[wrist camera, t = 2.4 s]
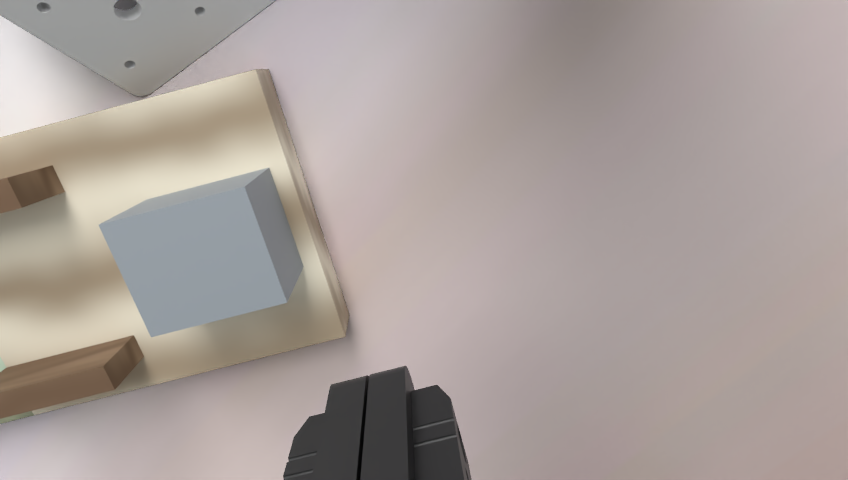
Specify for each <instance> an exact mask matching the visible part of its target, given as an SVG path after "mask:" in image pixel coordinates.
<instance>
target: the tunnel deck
mask: <svg viewBox="0 0 848 480" xmlns="http://www.w3.org/2000/svg"><path fill="white" fill-rule="evenodd" d="M265 168H270V171H271V174H272V177H273V180H274V182H275V185H276V188H277V191H278V194H279V197H280V200H281V203H282V205H283V208H284V211H285V214H286V217H287V220H288V223H289V226H290V228H291V231H292V234H293V237H294V240H295V243H296V246H297V249H298V251H299V254H300V257H301V260H302V263H303V266H304V267H303V270H302V272H301V274H300V276H299V278H298V280H297V282H296V285H295V287H294V289H293V291H292V293H291V295H290V298H289V300H288V302H287V303H284V304H280V305H276V306H272V307H269V308H265V309H261V310H257V311H253V312H249V313H245V314H241V315H237V316H233V317H229V318H225V319H221V320H218V321H214V322H210V323H206V324H202V325H198V326H194V327H190V328H186V329H182V330H178V331H174V332H170V333H166V334H163V335H159V336H155V337H151V336H150V334H149V332H148V330H147V328H146V326H145V323H144V321H143V319H142V317H141V315H140V313H139V311H138V309H137V306H136V304H135V302H134V300H133V298H132V296H131V294H130V291H129V289H128V287H127V285H126V283H125V281H124V279H123V276H122V274H121V272H120V270H119V268H118V266H117V264H116V262H115V259H114V257H113V255H112V253H111V251H110V249H109V247H108V244H107V242H106V240H105V238H104V236H103V234H102V232H101V230H100V227H99V224H101V223H103V222H105V221H107V220H109V219H110V218H112V217H114V216H116V215H118V214H120V213H122V212H124V211H126V210H128V209H130V208H131V207H133V206H135V205H137V204H139V203H141V202H143V201H145V200H147V199H151V198H154V197H158V196H162V195H166V194H170V193H173V192H177V191H181V190H185V189H189V188H193V187H196V186H200V185H204V184H208V183H212V182H215V181H219V180H223V179H227V178H231V177H235V176H238V175H242V174H246V173H250V172H254V171H257V170H261V169H265ZM348 320H349V312H348V309H347V306H346V303H345V300H344V297H343V294H342V291H341V288H340V285H339V282H338V279H337V276H336V273H335V270H334V267H333V264H332V261H331V258H330V255H329V252H328V249H327V245H326V242H325V239H324V236H323V233H322V230H321V227H320V224H319V221H318V218H317V215H316V212H315V209H314V206H313V203H312V200H311V197H310V194H309V191H308V188H307V185H306V182H305V179H304V175H303V172H302V169H301V166H300V163H299V160H298V157H297V154H296V151H295V148H294V145H293V142H292V139H291V136H290V133H289V130H288V127H287V124H286V121H285V118H284V115H283V112H282V109H281V105H280V102H279V99H278V96H277V93H276V90H275V87H274V84H273V81H272V78H271V75H270V72H269V69H255V70H251V71H247V72H244V73H240V74H236V75H232V76H229V77H225V78H221V79H218V80H214V81H210V82H206V83H203V84H199V85H195V86H191V87H188V88H184V89H180V90H176V91H173V92H169V93H165V94H161V95H158V96H154V97H150V98H146V99H143V100H139V101H135V102H131V103H128V104H124V105H120V106H116V107H113V108H109V109H105V110H102V111H98V112H94V113H90V114H87V115H83V116H79V117H75V118H72V119H68V120H64V121H60V122H57V123H53V124H49V125H45V126H42V127H38V128H34V129H30V130H27V131H23V132H19V133H15V134H12V135H8V136H4V137H1V138H0V424H1V423H5V422H9V421H13V420H17V419H21V418H25V417H29V416H33V415H37V414H41V413H45V412H49V411H53V410H57V409H61V408H65V407H69V406H73V405H77V404H81V403H85V402H89V401H93V400H97V399H100V398H104V397H108V396H112V395H116V394H120V393H124V392H128V391H132V390H136V389H140V388H144V387H148V386H152V385H156V384H160V383H164V382H168V381H172V380H176V379H180V378H184V377H188V376H192V375H196V374H200V373H204V372H208V371H211V370H215V369H219V368H223V367H227V366H231V365H235V364H239V363H243V362H247V361H251V360H255V359H259V358H263V357H267V356H271V355H275V354H279V353H283V352H287V351H291V350H295V349H299V348H303V347H307V346H311V345H315V344H319V343H322V342H326V341H330V340H334V339H338V338H342V337H345V336H346V330H347V325H348Z"/></svg>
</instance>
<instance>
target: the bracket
mask: <svg viewBox="0 0 848 480" xmlns="http://www.w3.org/2000/svg"><path fill="white" fill-rule="evenodd" d="M117 1H119V0H0V15H1V16H2V17H4V18H6V19H7V20H9V21H11V22H12V23H14V24H16V25H17V26H19V27H21V28H22V29H24V30H26V31H27V32H29V33H31V34H32V35H34V36H36V37H37V38H39V39H41V40H42V41H44V42H46V43H47V44H49V45H51V46H52V47H54V48H56V49H57V50H59V51H61V52H62V53H64V54H66V55H67V56H69V57H71V58H72V59H74V60H76V61H77V62H79V63H81V64H82V65H84V66H86V67H87V68H89V69H91V70H92V71H94V72H96V73H97V74H99V75H101V76H102V77H104V78H106V79H107V80H109V81H111V82H112V83H114V84H116V85H117V86H119V87H121V88H122V89H124V90H126V91H127V92H129V93H131V94H133V95H135V96H146V95H149V94H151V93H152V92H154V91H155V90H156V89H158V88H159V87H160V86H162V85H163V84H164V83H166V82H167V81H168V80H170V79H171V78H172V77H174V76H175V75H176V74H178V73H179V72H180V71H182V70H183V69H184V68H186V67H187V66H188V65H190V64H191V63H193V62H194V61H195V60H197V59H198V58H199V57H201V56H202V55H203V54H205V53H206V52H207V51H209V50H210V49H211V48H213V47H214V46H215V45H217V44H218V43H219V42H221V41H222V40H223V39H225V38H226V37H227V36H229V35H230V34H231V33H233V32H234V31H235V30H237V29H238V28H239V27H241V26H242V25H243V24H245V23H246V22H247V21H249V20H250V19H251V18H253V17H254V16H255V15H257V14H258V13H259V12H261V11H262V10H263V9H265V8H266V7H267V6H269V5H270V4H271V3H273V2H274V1H275V0H135V1H137V4H136V5H135V6H134V7H133V8H131V9H129V10H120V9H117V8H115V7H114V5H115V3H116V2H117Z"/></svg>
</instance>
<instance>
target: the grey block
mask: <svg viewBox="0 0 848 480" xmlns="http://www.w3.org/2000/svg"><path fill="white" fill-rule="evenodd" d="M99 227H100V230H101V232H102V234H103V236H104V238H105V240H106V242H107V244H108V247H109V249H110V251H111V253H112V255H113V257H114V259H115V262H116V264H117V266H118V268H119V270H120V272H121V274H122V276H123V279H124V281H125V283H126V285H127V287H128V289H129V291H130V294H131V296H132V298H133V300H134V302H135V304H136V306H137V309H138V311H139V313H140V315H141V317H142V319H143V321H144V323H145V326H146V328H147V330H148V332H149V334H150V336H151V337H155V336H159V335H163V334H166V333H170V332H174V331H178V330H182V329H186V328H190V327H194V326H198V325H202V324H206V323H210V322H214V321H218V320H221V319H225V318H229V317H233V316H237V315H241V314H245V313H249V312H253V311H257V310H261V309H265V308H269V307H272V306H276V305H280V304H284V303H287V302H288V300H289V298H290V295H291V293H292V291H293V289H294V287H295V285H296V282H297V280H298V278H299V276H300V274H301V272H302V270H303V267H304V266H303V263H302V260H301V257H300V254H299V251H298V249H297V246H296V243H295V240H294V237H293V234H292V231H291V228H290V226H289V223H288V220H287V217H286V214H285V211H284V208H283V205H282V203H281V200H280V197H279V194H278V191H277V188H276V185H275V182H274V180H273V177H272V174H271V171H270V168H265V169H261V170H257V171H254V172H250V173H246V174H242V175H238V176H235V177H231V178H227V179H223V180H219V181H215V182H212V183H208V184H204V185H200V186H196V187H193V188H189V189H185V190H181V191H177V192H173V193H170V194H166V195H162V196H158V197H154V198H151V199H147V200H145V201H143V202H141V203H139V204H137V205H135V206H133V207H131V208H130V209H128V210H126V211H124V212H122V213H120V214H118V215H116V216H114V217H112V218H110V219H109V220H107V221H105V222H103V223H101V224H99Z"/></svg>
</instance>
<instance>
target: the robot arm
mask: <svg viewBox="0 0 848 480" xmlns="http://www.w3.org/2000/svg"><path fill="white" fill-rule="evenodd" d="M288 459H289V462H287V465H286V468H285V472H284V475H283V477H284V480H471V475H470V470H469V465H468V460H467V457H466V453H465V449H464V446H463V442H462V439H461V435H460V431H459V428H458V424H457V420H456V417H455V413H454V410H453V406H452V402H451V399H450V397H449V396H448V395H447V394H446V393H445V392H444V391H443V390H442V389H441V388H440V387H439V386H438V385H434V386H430V387H426V388H422V389H418V390H414V386H413V383H412V380H411V376H410V373H409V371H408V368H407V367H406V366H403V367H399V368H395V369H391V370H387V371H383V372H379V373H375V374H371V375H370V376H364V377H360V378H356V379H352V380H348V381H344V382H340V383H336V384H332V385H331V386H330V390H329V395H328V400H327V405H326V410H325V413H322V414H318V415H314V416H310V417H309V418H308V419H307V421H306V422H305V423H304V425H303V426H302V427H301V429H300V430H299V431H298V433H297V434H296V435H295V437H294V439H293V443H292V446H291V450H290V454H289V457H288Z"/></svg>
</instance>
